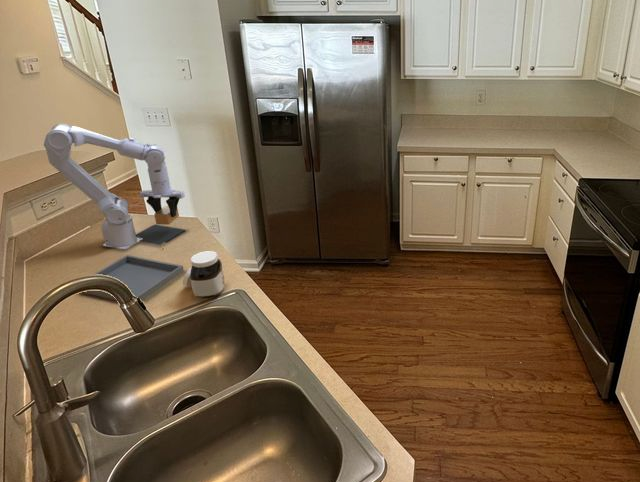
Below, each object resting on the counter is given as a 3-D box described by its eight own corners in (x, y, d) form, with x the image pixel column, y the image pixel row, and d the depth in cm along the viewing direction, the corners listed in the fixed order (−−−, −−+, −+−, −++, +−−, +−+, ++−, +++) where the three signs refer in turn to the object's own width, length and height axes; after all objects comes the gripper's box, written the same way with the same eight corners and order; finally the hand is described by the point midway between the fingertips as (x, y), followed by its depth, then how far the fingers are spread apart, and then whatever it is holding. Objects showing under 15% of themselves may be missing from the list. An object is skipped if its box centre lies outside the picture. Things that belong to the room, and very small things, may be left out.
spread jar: (220, 300, 121) (214, 265, 117) (177, 304, 119) (169, 268, 115) (229, 277, 132) (224, 244, 128) (190, 280, 130) (183, 246, 126)
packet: (156, 224, 151) (154, 214, 150) (167, 215, 158) (164, 205, 156) (169, 224, 151) (166, 214, 150) (179, 216, 158) (177, 206, 156)
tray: (76, 292, 123) (74, 284, 122) (128, 261, 139) (127, 254, 138) (137, 306, 118) (135, 298, 117) (184, 272, 134) (182, 265, 133)
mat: (128, 240, 152) (127, 238, 152) (154, 226, 163) (154, 224, 163) (160, 246, 149) (160, 244, 149) (185, 231, 160) (185, 229, 159)
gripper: (131, 183, 145) (140, 220, 150) (174, 184, 145) (181, 221, 150) (144, 176, 152) (151, 211, 157) (184, 177, 152) (191, 212, 157)
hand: (166, 215), depth 154 cm, fingers closed on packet, 4 cm apart
